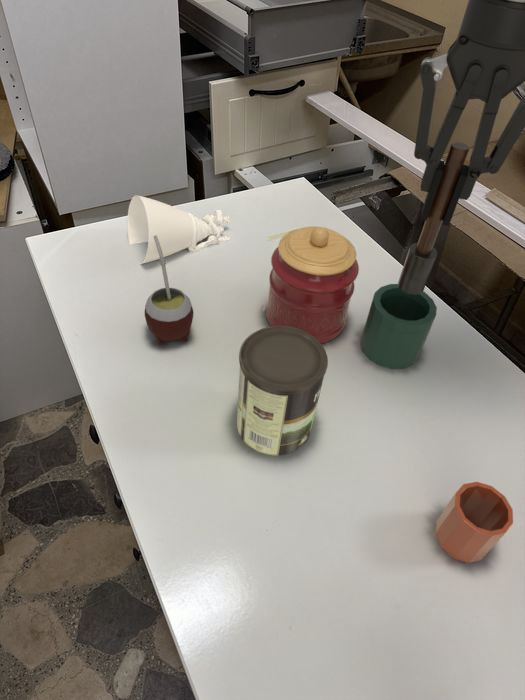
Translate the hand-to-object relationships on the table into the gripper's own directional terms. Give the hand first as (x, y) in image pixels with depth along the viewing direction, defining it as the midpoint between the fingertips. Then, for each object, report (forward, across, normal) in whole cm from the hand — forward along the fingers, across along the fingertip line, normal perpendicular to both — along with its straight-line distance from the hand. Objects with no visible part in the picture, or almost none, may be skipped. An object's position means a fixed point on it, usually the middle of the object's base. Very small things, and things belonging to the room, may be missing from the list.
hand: (435, 217), depth 65 cm
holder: (+24, +12, -28) cm, 39 cm away
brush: (+11, 0, 0) cm, 11 cm away
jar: (+24, 0, 0) cm, 24 cm away
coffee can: (+24, -13, -20) cm, 34 cm away
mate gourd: (+24, -33, -9) cm, 42 cm away
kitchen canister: (+24, -14, +2) cm, 28 cm away
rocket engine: (+24, -39, +12) cm, 48 cm away
